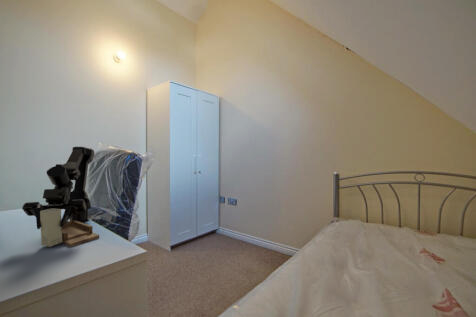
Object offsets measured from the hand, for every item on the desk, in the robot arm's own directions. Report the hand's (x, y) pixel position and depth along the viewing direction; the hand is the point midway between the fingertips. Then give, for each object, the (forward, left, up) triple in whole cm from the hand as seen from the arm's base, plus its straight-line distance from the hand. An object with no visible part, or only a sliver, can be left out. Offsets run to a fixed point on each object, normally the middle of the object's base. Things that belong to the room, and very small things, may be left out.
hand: (49, 227), depth 78 cm
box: (-1, -1, -7) cm, 7 cm away
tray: (-9, -5, -7) cm, 13 cm away
